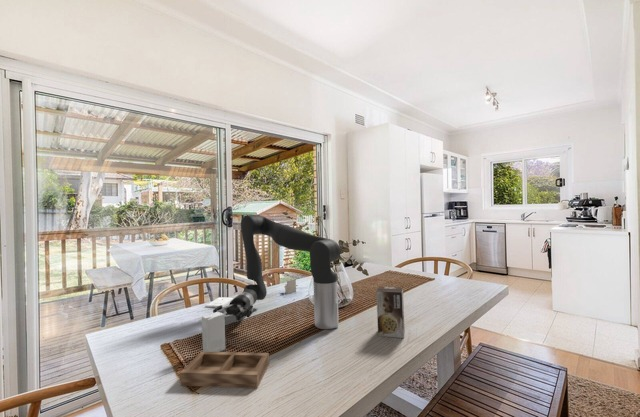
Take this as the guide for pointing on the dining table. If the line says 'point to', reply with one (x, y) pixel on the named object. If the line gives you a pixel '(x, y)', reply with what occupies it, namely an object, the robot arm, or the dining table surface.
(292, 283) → the architectural model
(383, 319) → the grey brown upright block
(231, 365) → the wooden compartment tray
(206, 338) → the skincare box
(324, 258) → the robot arm
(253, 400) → the dining table surface
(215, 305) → the external hard drive
